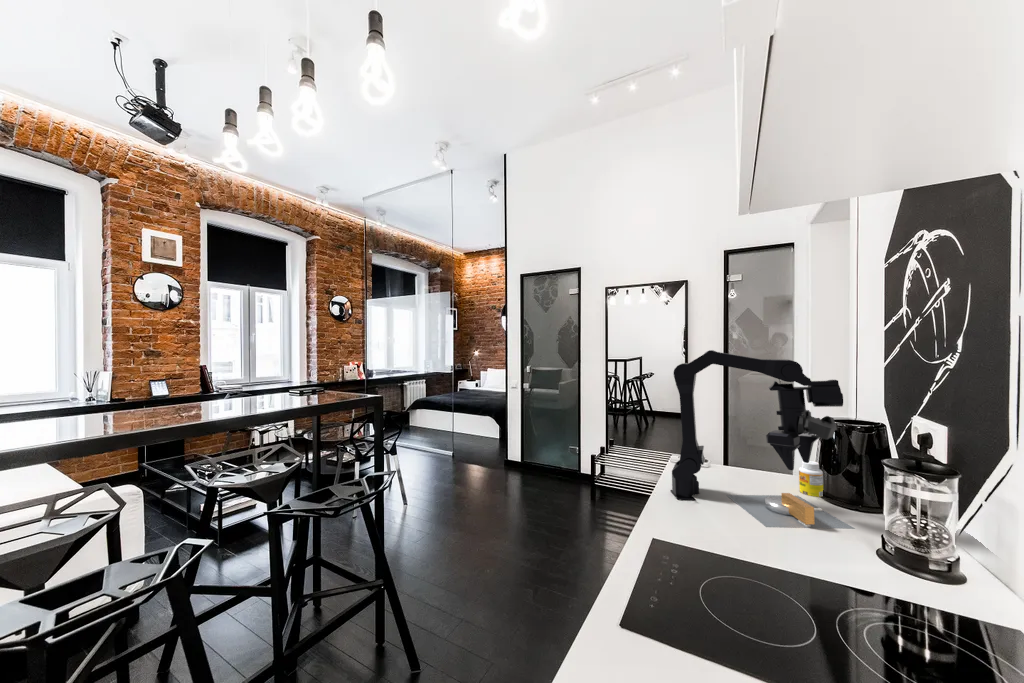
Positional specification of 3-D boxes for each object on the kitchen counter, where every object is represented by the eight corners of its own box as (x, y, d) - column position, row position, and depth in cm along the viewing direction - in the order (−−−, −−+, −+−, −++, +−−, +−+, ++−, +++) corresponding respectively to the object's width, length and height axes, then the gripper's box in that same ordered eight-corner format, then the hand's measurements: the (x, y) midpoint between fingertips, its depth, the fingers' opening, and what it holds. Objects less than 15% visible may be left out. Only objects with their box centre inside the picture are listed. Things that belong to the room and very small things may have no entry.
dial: (759, 503, 105) (758, 485, 105) (789, 503, 104) (789, 486, 104) (792, 527, 91) (791, 507, 91) (827, 527, 90) (827, 507, 90)
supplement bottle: (797, 492, 115) (795, 458, 115) (819, 495, 113) (818, 460, 113) (803, 499, 110) (801, 464, 110) (827, 502, 108) (825, 466, 108)
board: (766, 532, 91) (766, 525, 91) (726, 499, 111) (725, 493, 111) (855, 533, 90) (854, 526, 90) (798, 499, 110) (797, 494, 110)
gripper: (813, 414, 89) (821, 481, 89) (843, 404, 99) (851, 464, 99) (762, 410, 99) (768, 471, 98) (794, 401, 109) (800, 457, 108)
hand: (798, 466), depth 100 cm, fingers open, 9 cm apart
